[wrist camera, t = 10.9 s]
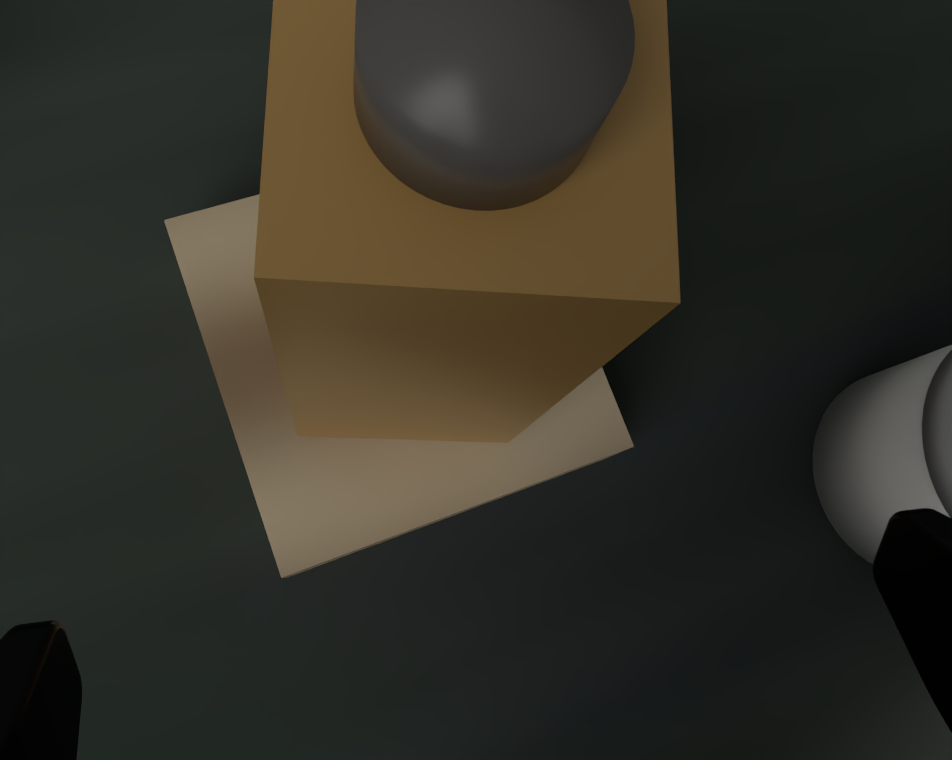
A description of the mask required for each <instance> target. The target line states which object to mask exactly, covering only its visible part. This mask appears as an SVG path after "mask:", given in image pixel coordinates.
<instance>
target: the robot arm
mask: <svg viewBox="0 0 952 760" xmlns="http://www.w3.org/2000/svg"><path fill="white" fill-rule="evenodd" d="M873 575H874V579H875V582H876V585H877V587H878V589H879V591H880V593H881V595H882V598H883V600H884V602H885V604H886V606H887V608H888V610H889V612H890V614H891V616H892V618H893V620H894V622H895V624H896V627H897V629H898V631H899V633H900V635H901V637H902V639H903V641H904V643H905V645H906V647H907V649H908V651H909V653H910V655H911V658H912V660H913V662H914V664H915V666H916V668H917V670H918V672H919V674H920V676H921V678H922V680H923V682H924V684H925V686H926V688H927V690H928V692H929V694H930V696H931V698H932V700H933V702H934V703H935V705H936V707H937V709H938V710H939V712H940V714H941V716H942V717H943V719H944V721H945V722H946V724H947V726H948V727H949V729H950V731H951V732H952V518H950V517H948V516H946V515H944V514H942V513H940V512H938V511H936V510H934V509H930V508H920V509H912V510H904V511H899V512H896V513H895V514H893V515H892V516H891V517H890V519H889V521H888V524H887V526H886V529H885V532H884V534H883V537H882V540H881V542H880V545H879V548H878V550H877V553H876V556H875V559H874V562H873ZM81 703H82V683H81V676H80V673H79V670H78V667H77V664H76V661H75V658H74V655H73V652H72V649H71V646H70V643H69V641H68V638H67V635H66V632H65V629H64V627H63V626H62V625H61V624H60V622H58V621H53V620H51V621H44V622H36V623H28V624H21V625H17V626H15V627H13V628H12V629H10V630H9V631H8V632H7V633H6V634H5V635H4V636H3V637H2V638H1V639H0V760H76V758H77V747H78V736H79V725H80V714H81Z"/></svg>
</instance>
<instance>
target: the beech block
mask: <svg viewBox="0 0 952 760" xmlns="http://www.w3.org/2000/svg"><path fill="white" fill-rule="evenodd" d="M259 196H260V194H259V195H255V196H251V197H248V198H244V199H240V200H237V201H233V202H229V203H226V204H222V205H218V206H215V207H211V208H207V209H204V210H200V211H196V212H193V213H189V214H185V215H182V216H178V217H174V218H170V219H167V220H164V221H165V225H166V228H167V231H168V234H169V237H170V240H171V243H172V246H173V249H174V252H175V255H176V258H177V261H178V264H179V267H180V270H181V273H182V276H183V279H184V282H185V285H186V289H187V292H188V295H189V298H190V301H191V304H192V307H193V310H194V313H195V316H196V319H197V322H198V325H199V328H200V331H201V334H202V337H203V340H204V343H205V346H206V349H207V353H208V356H209V359H210V362H211V365H212V368H213V371H214V374H215V377H216V380H217V383H218V386H219V389H220V392H221V395H222V398H223V401H224V404H225V407H226V410H227V413H228V417H229V420H230V423H231V426H232V429H233V432H234V435H235V438H236V441H237V444H238V447H239V450H240V453H241V456H242V459H243V462H244V465H245V468H246V471H247V474H248V477H249V481H250V484H251V487H252V490H253V493H254V496H255V499H256V502H257V505H258V508H259V511H260V514H261V517H262V520H263V523H264V526H265V529H266V532H267V535H268V538H269V541H270V545H271V548H272V551H273V554H274V557H275V560H276V563H277V566H278V569H279V572H280V575H281V578H286V577H290V576H293V575H295V574H298V573H301V572H303V571H306V570H309V569H311V568H314V567H317V566H319V565H322V564H325V563H327V562H330V561H333V560H335V559H338V558H341V557H343V556H346V555H349V554H351V553H354V552H357V551H360V550H362V549H365V548H368V547H370V546H373V545H376V544H378V543H381V542H384V541H386V540H389V539H392V538H394V537H397V536H400V535H402V534H405V533H408V532H410V531H413V530H416V529H418V528H421V527H424V526H427V525H429V524H432V523H435V522H437V521H440V520H443V519H445V518H448V517H451V516H453V515H456V514H459V513H461V512H464V511H467V510H469V509H472V508H475V507H477V506H480V505H483V504H485V503H488V502H491V501H494V500H496V499H499V498H502V497H504V496H507V495H510V494H512V493H515V492H518V491H520V490H523V489H526V488H528V487H531V486H534V485H536V484H539V483H542V482H544V481H547V480H550V479H552V478H555V477H558V476H561V475H563V474H566V473H569V472H571V471H574V470H577V469H579V468H582V467H585V466H587V465H590V464H593V463H595V462H598V461H601V460H603V459H606V458H608V457H610V456H613V455H615V454H618V453H620V452H622V451H625V450H627V449H629V448H632V447H634V445H633V443H632V440H631V438H630V435H629V433H628V430H627V428H626V425H625V423H624V420H623V418H622V415H621V413H620V410H619V408H618V406H617V403H616V401H615V398H614V396H613V393H612V391H611V388H610V386H609V383H608V381H607V378H606V376H605V373H604V371H603V368H602V367H601V368H600V369H598V370H597V371H596V372H595V373H593V374H592V375H591V376H590V377H589V378H587V379H586V380H585V381H584V382H582V383H581V384H580V385H579V386H577V387H576V388H575V389H574V390H572V391H571V392H570V393H569V394H568V395H566V396H565V397H564V398H563V399H561V400H560V401H559V402H558V403H556V404H555V405H554V406H553V407H551V408H550V409H549V410H548V411H547V412H545V413H544V414H543V415H542V416H540V417H539V418H538V419H537V420H535V421H534V422H533V423H532V424H530V425H529V426H528V427H527V428H526V429H524V430H523V431H522V432H521V433H519V434H518V435H517V436H516V437H514V438H513V439H512V440H511V441H509V442H508V443H499V442H469V441H440V440H410V439H380V438H351V437H321V436H298V434H297V431H296V427H295V424H294V420H293V417H292V413H291V409H290V406H289V402H288V399H287V395H286V391H285V388H284V384H283V381H282V377H281V374H280V370H279V366H278V363H277V359H276V356H275V352H274V349H273V345H272V341H271V338H270V334H269V331H268V327H267V323H266V320H265V316H264V313H263V309H262V306H261V302H260V298H259V295H258V291H257V288H256V284H255V281H254V266H255V252H256V238H257V224H258V210H259Z"/></svg>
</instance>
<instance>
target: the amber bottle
mask: <svg viewBox="0 0 952 760" xmlns="http://www.w3.org/2000/svg"><path fill="white" fill-rule="evenodd" d="M254 281H255V284H256V288H257V291H258V295H259V298H260V302H261V306H262V309H263V313H264V316H265V320H266V323H267V327H268V331H269V334H270V338H271V341H272V345H273V349H274V352H275V356H276V359H277V363H278V366H279V370H280V374H281V377H282V381H283V384H284V388H285V391H286V395H287V399H288V402H289V406H290V409H291V413H292V417H293V420H294V424H295V427H296V431H297V434H298V436H321V437H351V438H380V439H410V440H440V441H469V442H499V443H508V442H509V441H511V440H512V439H513V438H514V437H516V436H517V435H518V434H519V433H521V432H522V431H523V430H524V429H526V428H527V427H528V426H529V425H530V424H532V423H533V422H534V421H535V420H537V419H538V418H539V417H540V416H542V415H543V414H544V413H545V412H547V411H548V410H549V409H550V408H551V407H553V406H554V405H555V404H556V403H558V402H559V401H560V400H561V399H563V398H564V397H565V396H566V395H568V394H569V393H570V392H571V391H572V390H574V389H575V388H576V387H577V386H579V385H580V384H581V383H582V382H584V381H585V380H586V379H587V378H589V377H590V376H591V375H592V374H593V373H595V372H596V371H597V370H598V369H600V368H601V367H602V366H603V365H605V364H606V363H607V362H608V361H610V360H611V359H612V358H613V357H614V356H616V355H617V354H618V353H619V352H621V351H622V350H623V349H624V348H626V347H627V346H628V345H629V344H631V343H632V342H633V341H634V340H635V339H637V338H638V337H639V336H640V335H642V334H643V333H644V332H645V331H647V330H648V329H649V328H650V327H652V326H653V325H654V324H655V323H656V322H658V321H659V320H660V319H661V318H663V317H664V316H665V315H666V314H668V313H669V312H670V311H671V310H673V309H674V308H675V307H676V306H677V305H679V304H680V303H681V302H680V281H679V259H678V237H677V216H676V194H675V173H674V151H673V129H672V108H671V86H670V64H669V43H668V21H667V0H273V14H272V28H271V42H270V56H269V70H268V84H267V98H266V112H265V126H264V140H263V154H262V168H261V182H260V196H259V210H258V224H257V238H256V252H255V266H254Z"/></svg>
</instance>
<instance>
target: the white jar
mask: <svg viewBox="0 0 952 760" xmlns="http://www.w3.org/2000/svg"><path fill="white" fill-rule="evenodd" d="M813 475H814V482H815V486H816V490H817V494H818V497H819V500H820V503H821V505H822V508H823V510H824V512H825V514H826V516H827V518H828V520H829V522H830V523H831V525H832V526H833V528H834V529H835V531H836V532H837V533H838V535H839V536H840V537H841V538H842V539H843V540H844V542H845V543H846V544H847V545H848V546H849V547H850V548H851V549H852V550H854V551H855V552H856V553H857V554H858V555H860V556H861V557H862V558H864V559H865V560H866V561H868V562H870V563H871V564H873V562H874V559H875V556H876V553H877V550H878V548H879V545H880V542H881V540H882V537H883V534H884V532H885V529H886V526H887V524H888V521H889V519H890V517H891V516H892V515H893V514H895V513H896V512H899V511H904V510H912V509H920V508H930V509H934V510H936V511H938V512H940V513H942V514H944V515H946V516H948V517H950V518H952V345H949V346H947V347H944V348H941V349H939V350H936V351H933V352H931V353H928V354H925V355H923V356H920V357H917V358H915V359H912V360H909V361H907V362H904V363H901V364H899V365H896V366H893V367H891V368H888V369H885V370H883V371H880V372H877V373H875V374H872V375H869V376H867V377H864V378H862V379H860V380H858V381H856V382H854V383H852V384H851V385H849V386H848V387H847V388H845V389H844V390H843V391H842V392H841V393H840V394H838V395H837V396H836V397H835V399H834V400H833V401H832V402H831V404H830V405H829V406H828V408H827V409H826V411H825V413H824V415H823V416H822V418H821V421H820V423H819V426H818V428H817V432H816V436H815V440H814V446H813Z"/></svg>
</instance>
